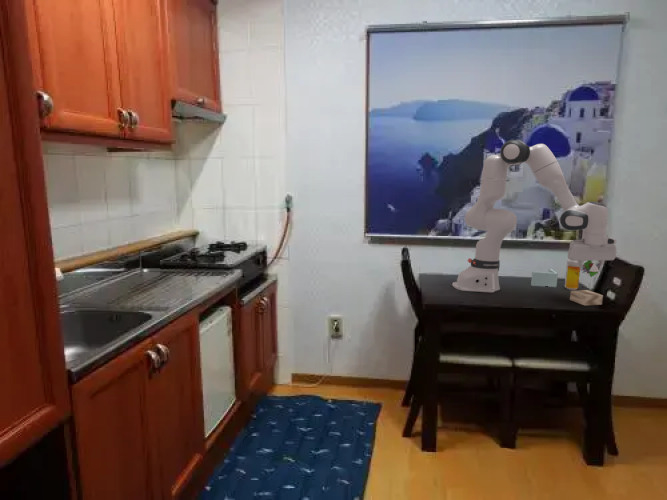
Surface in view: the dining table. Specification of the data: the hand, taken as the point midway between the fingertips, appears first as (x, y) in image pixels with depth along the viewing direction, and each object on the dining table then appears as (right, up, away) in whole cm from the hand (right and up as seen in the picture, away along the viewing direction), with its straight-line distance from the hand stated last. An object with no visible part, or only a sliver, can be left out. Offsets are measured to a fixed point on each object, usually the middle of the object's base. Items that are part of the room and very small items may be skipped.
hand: (589, 270), depth 212 cm
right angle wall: (-7, -9, +35) cm, 37 cm away
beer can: (+5, -11, +26) cm, 29 cm away
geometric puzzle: (+1, -2, +1) cm, 3 cm away
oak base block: (-1, -15, +2) cm, 15 cm away
